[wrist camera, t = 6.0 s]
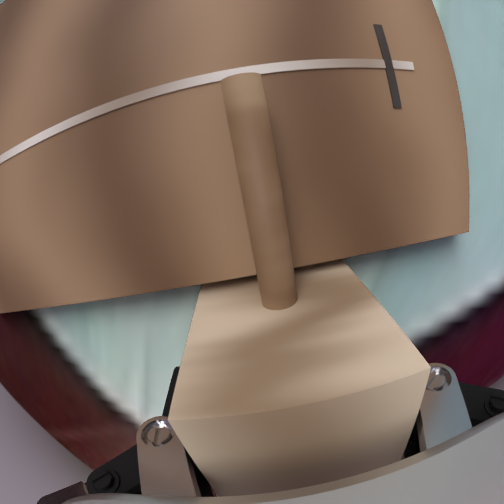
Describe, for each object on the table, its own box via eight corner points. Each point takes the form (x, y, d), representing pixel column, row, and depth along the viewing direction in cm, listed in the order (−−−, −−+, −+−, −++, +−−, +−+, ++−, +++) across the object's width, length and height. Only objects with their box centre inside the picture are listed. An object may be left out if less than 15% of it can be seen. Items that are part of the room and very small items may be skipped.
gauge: (317, 85, 8) (415, 12, 3) (345, 380, 12) (387, 488, 6) (163, 111, 8) (58, 65, 3) (236, 400, 12) (236, 518, 7)
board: (381, -65, 6) (391, -78, 5) (451, 224, 10) (469, 232, 9) (-44, 60, 6) (-58, 58, 5) (-5, 304, 11) (-19, 316, 10)
